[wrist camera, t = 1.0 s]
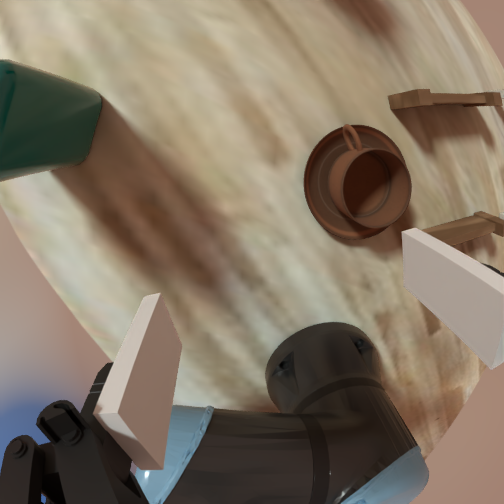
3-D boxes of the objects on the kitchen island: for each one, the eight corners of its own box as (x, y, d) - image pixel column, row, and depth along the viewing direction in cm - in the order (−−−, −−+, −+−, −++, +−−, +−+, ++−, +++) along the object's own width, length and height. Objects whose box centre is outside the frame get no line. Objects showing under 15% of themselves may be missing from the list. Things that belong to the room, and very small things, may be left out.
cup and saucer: (275, 176, 31) (287, 183, 25) (356, 104, 29) (383, 96, 23) (345, 255, 34) (367, 277, 29) (416, 187, 32) (447, 196, 27)
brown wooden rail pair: (481, 222, 34) (509, 234, 29) (407, 244, 34) (434, 261, 29) (469, 94, 28) (500, 92, 23) (387, 96, 28) (417, 89, 23)
